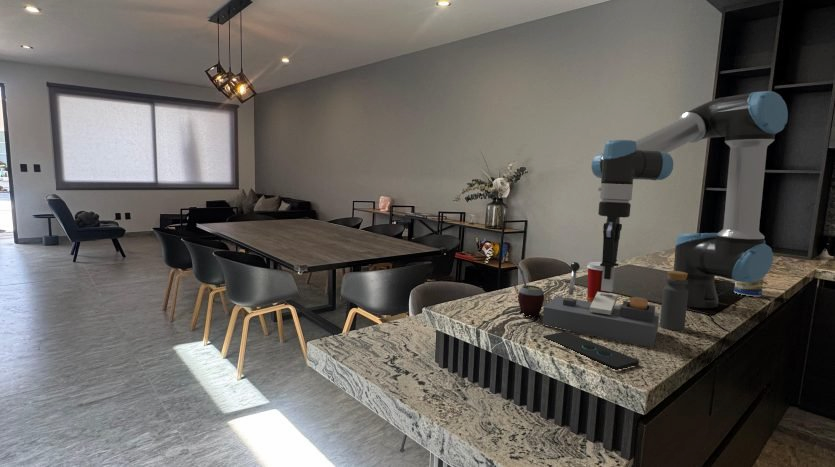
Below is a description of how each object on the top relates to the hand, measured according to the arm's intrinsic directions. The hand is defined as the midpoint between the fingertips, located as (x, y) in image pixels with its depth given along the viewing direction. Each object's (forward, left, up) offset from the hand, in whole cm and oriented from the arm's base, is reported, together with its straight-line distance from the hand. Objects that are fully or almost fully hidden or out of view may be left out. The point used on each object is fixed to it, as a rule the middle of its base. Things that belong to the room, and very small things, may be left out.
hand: (606, 290), depth 121 cm
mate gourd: (+3, -19, -10) cm, 22 cm away
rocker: (+3, 0, -3) cm, 4 cm away
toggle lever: (+3, -8, -2) cm, 9 cm away
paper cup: (-16, -4, -10) cm, 19 cm away
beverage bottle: (-73, +37, -10) cm, 82 cm away
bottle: (-11, +16, -10) cm, 21 cm away
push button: (+3, +8, -3) cm, 9 cm away
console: (+3, 0, -10) cm, 10 cm away
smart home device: (+23, 0, -10) cm, 25 cm away
